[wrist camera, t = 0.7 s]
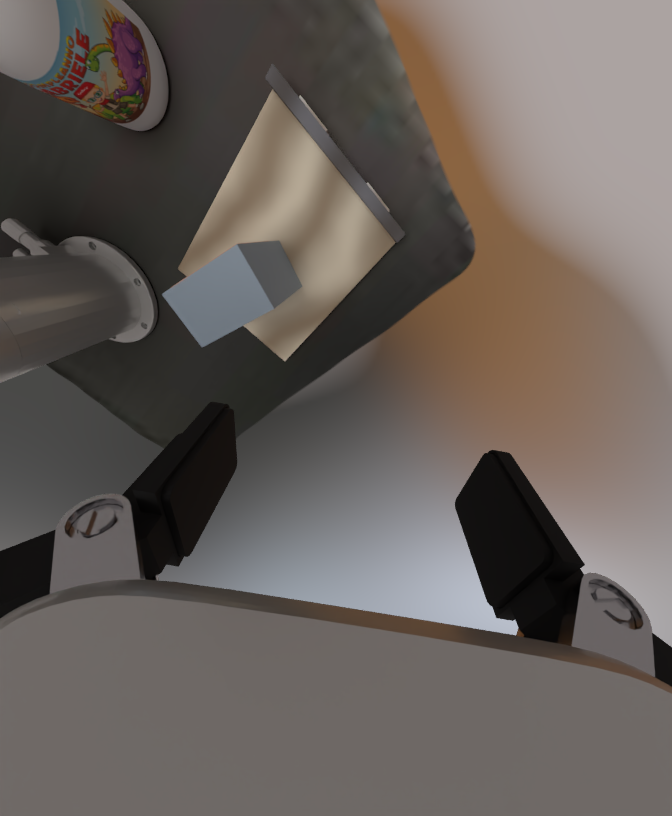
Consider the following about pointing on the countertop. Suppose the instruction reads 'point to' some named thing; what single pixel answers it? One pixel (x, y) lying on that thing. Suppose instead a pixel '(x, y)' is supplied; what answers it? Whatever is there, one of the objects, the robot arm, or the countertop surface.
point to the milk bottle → (86, 57)
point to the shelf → (297, 215)
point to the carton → (233, 289)
